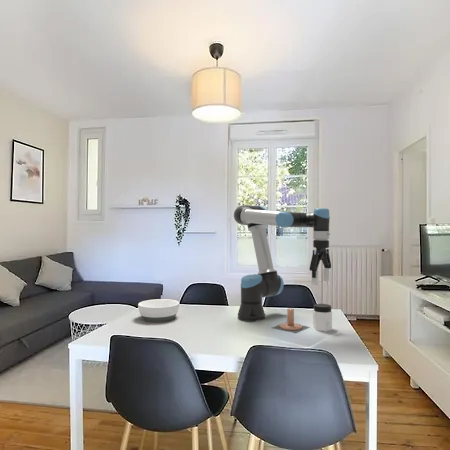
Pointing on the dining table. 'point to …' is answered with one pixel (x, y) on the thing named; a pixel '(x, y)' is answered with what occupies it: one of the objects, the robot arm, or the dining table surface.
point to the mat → (289, 330)
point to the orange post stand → (290, 322)
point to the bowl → (158, 310)
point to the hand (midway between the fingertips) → (320, 282)
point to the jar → (322, 317)
